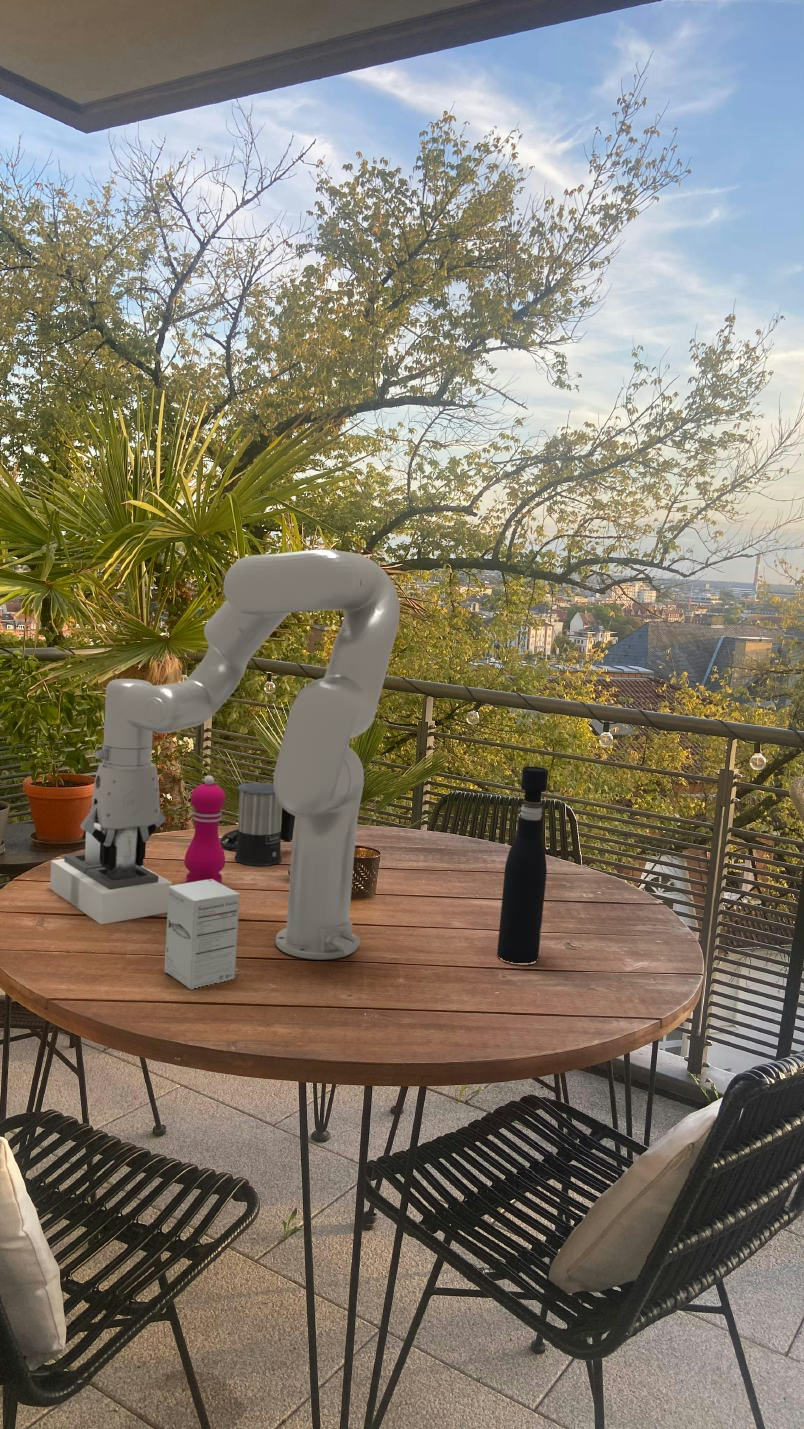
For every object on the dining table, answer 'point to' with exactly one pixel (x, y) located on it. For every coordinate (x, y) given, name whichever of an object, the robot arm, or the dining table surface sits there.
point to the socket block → (107, 887)
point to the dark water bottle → (525, 877)
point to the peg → (124, 853)
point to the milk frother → (259, 826)
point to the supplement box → (201, 933)
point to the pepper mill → (206, 834)
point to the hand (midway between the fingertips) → (122, 864)
